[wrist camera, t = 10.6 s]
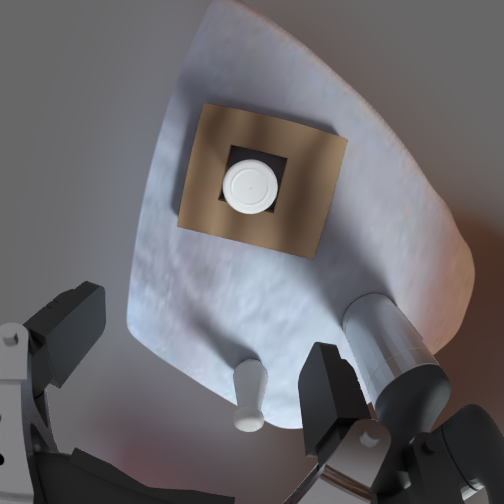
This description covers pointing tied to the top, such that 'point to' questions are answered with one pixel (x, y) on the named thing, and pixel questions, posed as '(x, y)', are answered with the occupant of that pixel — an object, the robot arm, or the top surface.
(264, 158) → the top surface
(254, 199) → the sprinkles bottle
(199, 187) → the holder board
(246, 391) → the salt shaker
